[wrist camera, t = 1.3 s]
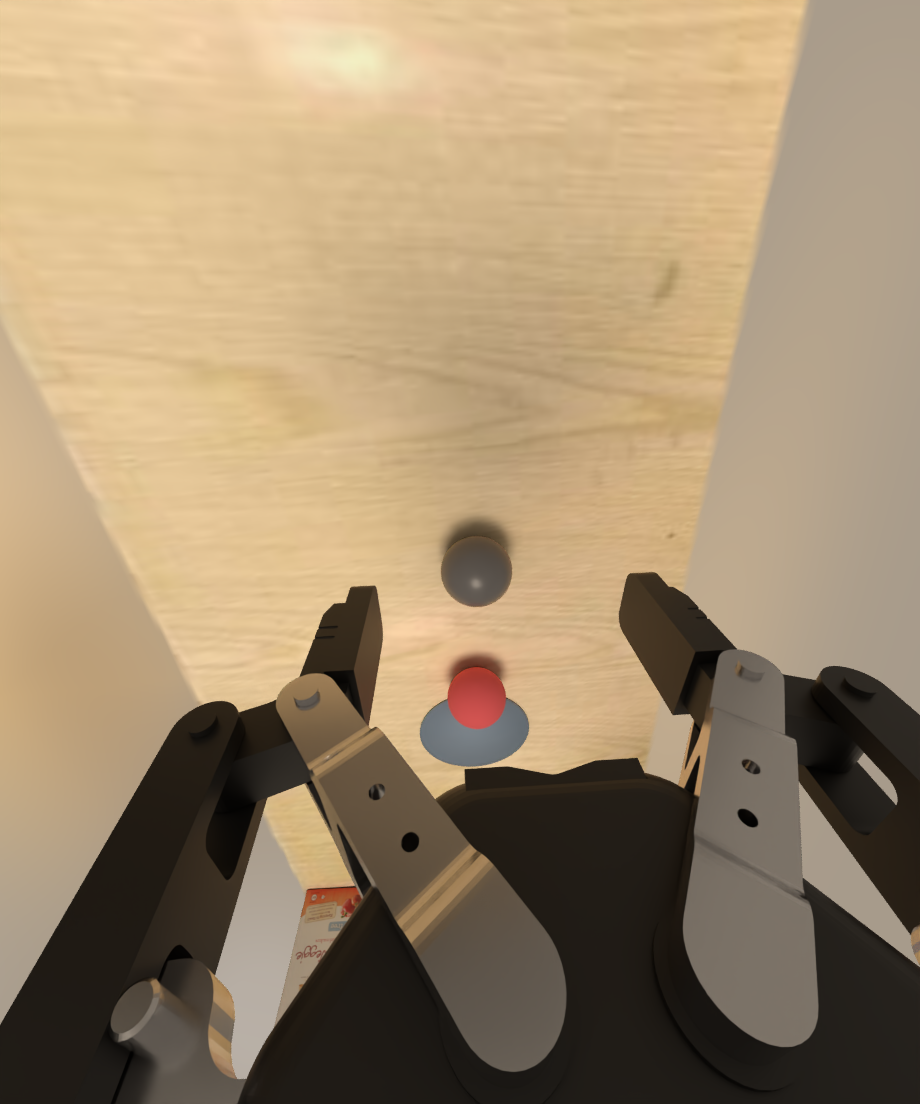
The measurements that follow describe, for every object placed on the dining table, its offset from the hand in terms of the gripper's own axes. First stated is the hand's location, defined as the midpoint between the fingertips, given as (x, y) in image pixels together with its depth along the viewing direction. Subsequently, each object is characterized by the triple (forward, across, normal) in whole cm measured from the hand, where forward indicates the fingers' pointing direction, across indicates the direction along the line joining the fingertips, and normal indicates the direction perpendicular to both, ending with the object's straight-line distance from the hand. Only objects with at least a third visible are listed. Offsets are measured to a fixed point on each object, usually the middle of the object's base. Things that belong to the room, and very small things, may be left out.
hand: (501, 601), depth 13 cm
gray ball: (+16, 0, +9) cm, 18 cm away
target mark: (+18, 0, +32) cm, 36 cm away
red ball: (+16, 0, +23) cm, 28 cm away
